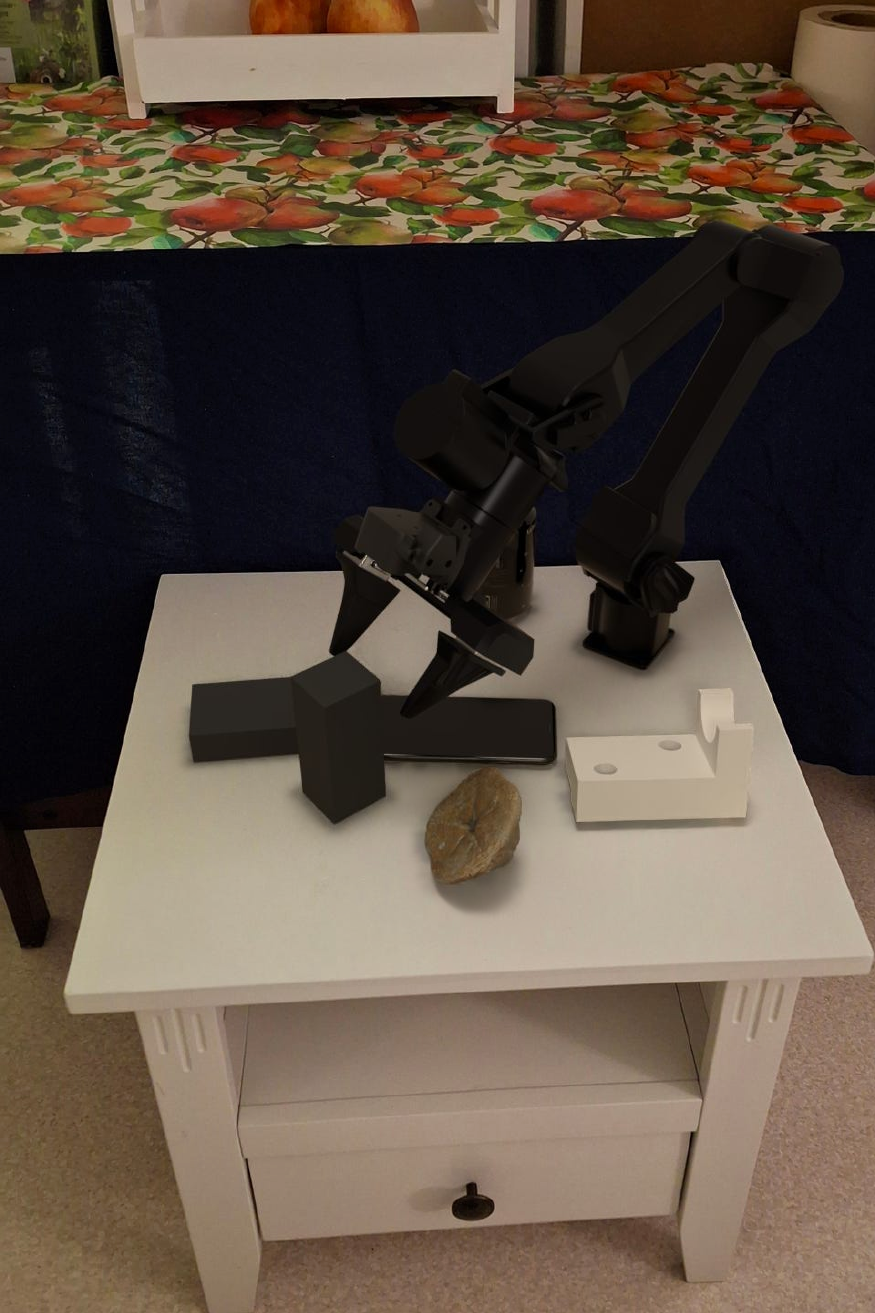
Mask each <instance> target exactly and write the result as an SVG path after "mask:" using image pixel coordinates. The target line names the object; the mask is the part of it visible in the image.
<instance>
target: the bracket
mask: <svg viewBox="0 0 875 1313" xmlns="http://www.w3.org/2000/svg"><path fill="white" fill-rule="evenodd" d="M734 695H735V693H734V691H733V690H732V688H729V687H728V688H698V689H697V701H696V710H695V711H696V712H695V714H696V715H695V723H694V724H695V725H694V733H690V734H688V733H687V734H654V735H653V734H651V735H650V734H649V735H618V736H617V735H614V736H613V735H612V736H609V735H608V736H578V737H577V736H576V737H572V736H571V737H565V758H564V762H565V763H564V764H565V765H564V767H565V770H566V774H567V778H568V783H569V786H570V802H571V805H572V810H573V814H574V819H575V822H576V823H577V822H578V823H582V822H583V823H585V822H617V821H619V822H620V821H654V820H656V821H657V820H658V821H659V820H692V819H694V820H695V819H726V818H727V819H729V818H730V819H731V818H732V819H733V818H746V817H747V808H748V799H749V788H750V780H751V779H750V778H751V768H752V759H753V748H754V740H755V731H756V730H755V727H754V726H753V724H752V722H751V723H750V722H748V723H736V721H735V715H734V714H735V713H734V711H735V710H734V709H735V708H734V697H735V696H734Z"/></svg>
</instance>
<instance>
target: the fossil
mask: <svg viewBox="0 0 875 1313" xmlns="http://www.w3.org/2000/svg"><path fill="white" fill-rule="evenodd" d="M466 777H467V778H464V779H462V781H461V782H460V783H459V785H458V786H457V787H456V788H455V789H454V790H453V791H452V792H450V794H448V795H447V796H446V797H445V798H444V799H442V801H441V802H439V803H438V804H437V805H436V806H435V808H434V810H433V811H432V813H431V815H430V817H429V819H428V821H427V823H426V827H425V828H426V829H425V830H426V831H425V833H424V844H425V848H426V849H427V852H428V854H430V870H431V873H432V874H433V876H434V878H435V880H436V881H438V882H439V883H442V884H443V885H447V886H457V885H460V884H463V883H466V882H468V881H472V880H475V879H478V878H480V877H481V876H483V875H485V874H487V873H488V872H492V871H495V870H498V869H503V868H505V867H506V866H508V865H509V864H510V863H511V862H512V860H513V858H514V853H515V852H516V850H517V846H518V845H519V844H520V840H521V829H520V822H521V817H522V813H523V800H522V796H521V793H520V790H519V789H518V787H517V786H516V785H515V783H513V782H511V781H510V780H509V779H508V778H506V776H504V774H503V772H502V771H501V769H499V768H498V767H494V766H485V767H481V768H478V769H477V770H475V771H474V772H471V773H470V774H468V775H467V776H466Z"/></svg>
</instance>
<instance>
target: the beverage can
mask: <svg viewBox="0 0 875 1313" xmlns="http://www.w3.org/2000/svg"><path fill="white" fill-rule="evenodd" d="M505 527H506V526H505ZM508 529H509V528H508ZM510 530H511V529H510ZM511 531H512V530H511ZM512 532H514V531H512ZM514 533H515V535H514V537H513V538H512V540H511V541H510V543H509V544H508V546H510V547H511V548H513V549H514V550H516V553H515V554H514V556H513V557H512V559H511V560H510V562H508V561H506V560H505V559H503V558H502V557H499V559H498V560H497V562H496V563H495V565H494V566H493V568H492V569H491V571H490V572H489V574H488V575H487V577H486V578H485V580H484V581H483V583H482V584H481V586H480V587H479V589H478V590H477V591H479V592H480V593H482V594H483V595H484V596H486V597H485V599H484V600H483V602H482V603H481V604H483V605H484V606H486V607H488V608H489V609H491V610H493V611H494V612H496V613H498V614H499V615H501V616H503V617H504V618H506V619H507V620H510V619H514V618H517V617H519V616H521V615H522V614H524V613H525V612H527V610H528V609H529V608H530V606H531V605H532V602H533V593H534V578H535V560H536V558H535V557H536V540H537V539H536V537H537V536H536V535H537V509H536V507H535V506H534V507H533V508H532V510H531V511H530V513H529V514H528V516H527V517H526V519H525V520H524V522H523V523H522V525H521V526H520V527H519V529H518V530H517V532H514Z"/></svg>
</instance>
